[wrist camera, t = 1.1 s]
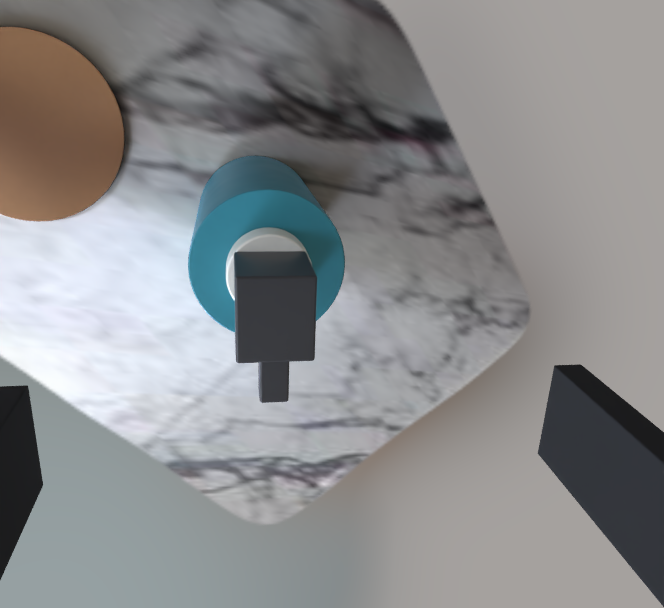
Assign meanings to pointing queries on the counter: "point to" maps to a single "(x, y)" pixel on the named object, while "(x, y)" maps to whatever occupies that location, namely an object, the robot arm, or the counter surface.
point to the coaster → (54, 128)
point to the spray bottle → (265, 265)
